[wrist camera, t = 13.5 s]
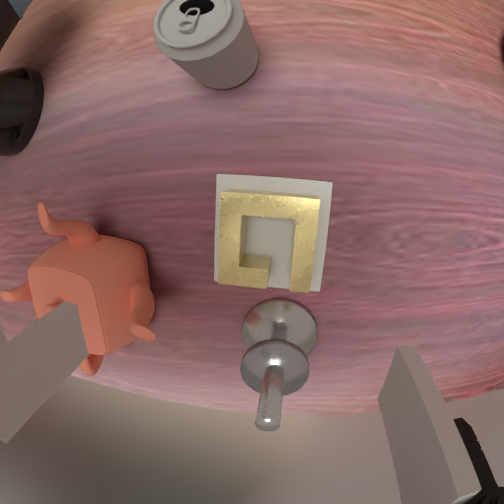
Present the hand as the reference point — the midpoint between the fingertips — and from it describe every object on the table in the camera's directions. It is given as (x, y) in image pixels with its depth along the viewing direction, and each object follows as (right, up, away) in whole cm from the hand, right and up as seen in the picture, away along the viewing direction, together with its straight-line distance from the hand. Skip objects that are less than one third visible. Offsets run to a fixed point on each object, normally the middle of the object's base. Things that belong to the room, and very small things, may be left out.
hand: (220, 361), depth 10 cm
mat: (+3, +6, +21) cm, 22 cm away
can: (-2, +25, +17) cm, 30 cm away
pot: (-18, +1, +26) cm, 32 cm away
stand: (+4, -6, +24) cm, 25 cm away
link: (+3, +6, +21) cm, 22 cm away
